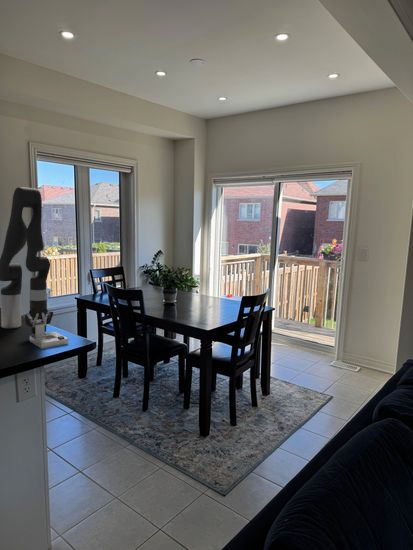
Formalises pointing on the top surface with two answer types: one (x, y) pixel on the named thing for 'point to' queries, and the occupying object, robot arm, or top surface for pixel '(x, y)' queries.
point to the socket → (48, 340)
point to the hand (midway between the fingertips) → (38, 333)
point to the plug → (39, 327)
